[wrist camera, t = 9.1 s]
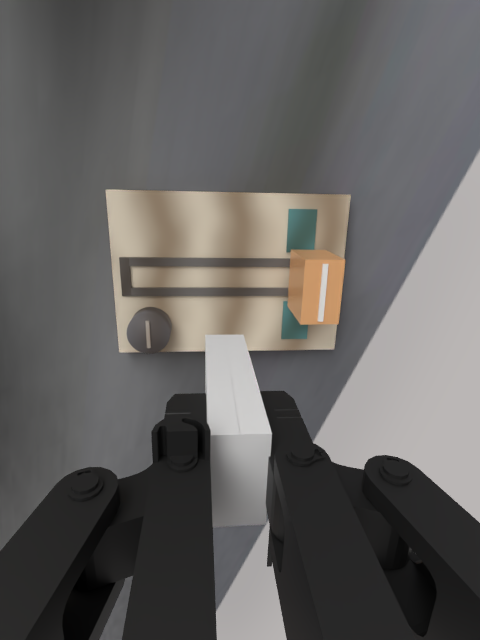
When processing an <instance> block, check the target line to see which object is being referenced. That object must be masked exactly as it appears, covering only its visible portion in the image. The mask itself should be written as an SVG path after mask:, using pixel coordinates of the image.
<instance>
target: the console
mask: <svg viewBox="0 0 480 640" xmlns="http://www.w3.org/2000/svg"><path fill="white" fill-rule="evenodd" d="M350 198H351V195H333V194H288V193H243V192H197V191H152V190H106V201H107V212H108V224H109V236H110V248H111V260H112V272H113V284H114V296H115V308H116V320H117V332H118V343H119V352H142V353H146V354H152V353H156V352H191V351H205V335H244V338H245V341H246V345H247V348H248V351H264V350H334V348H335V339H336V329H337V324H312V325H300V323H299V322H298V320H297V319H296V318H295V316H294V315H293V313H292V312H291V311H290V309H289V308H288V306H287V304H288V288H289V272H290V256H291V250H327V251H329V252H331V253H333V254H335V255H337V256H339V257H341V258H343V259H344V254H345V245H346V235H347V226H348V217H349V207H350Z"/></svg>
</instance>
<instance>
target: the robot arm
mask: <svg viewBox="0 0 480 640" xmlns="http://www.w3.org/2000/svg"><path fill="white" fill-rule="evenodd" d="M152 453H153V464H152V465H151V466H150V467H149V468H147V469H146V470H144V471H142V472H140V473H138V474H135V475H132V476H129V477H125V478H122V479H118V480H117V476H116V475H115V474H114V473H113V472H112V471H111V470H108V469H105V468H102V467H89V468H85V469H81V470H77V471H75V472H73V473H71V474H69V475H67V476H65V477H64V478H63V479H62V480H61V481H59V482H58V483H57V484H56V485H55V486H54V488H53V489H52V490H51V491H50V492H49V494H48V495H47V496H46V497H45V498H44V500H43V501H42V502H41V503H40V504H39V506H38V507H37V508H36V509H35V510H34V512H33V513H32V514H31V515H30V516H29V518H28V519H27V520H26V521H25V522H24V524H23V525H22V526H21V527H20V528H19V530H18V531H17V532H16V533H15V534H14V536H13V537H12V538H11V539H10V540H9V542H8V543H7V544H6V545H5V546H4V548H3V549H2V550H1V551H0V640H99V639H100V636H101V634H102V632H103V630H104V627H105V625H106V623H107V621H108V618H109V616H110V614H111V612H112V609H113V607H114V605H115V603H116V601H117V598H118V596H119V594H120V592H121V589H122V587H123V585H124V581H125V578H127V577H130V576H132V575H133V580H132V585H131V591H130V597H129V602H128V608H127V614H126V620H125V625H124V631H123V637H122V640H217V637H216V608H215V580H214V552H213V527H229V526H249V525H266V515H267V513H268V518H269V523H270V530H269V544H268V558H267V566H272V563H273V568H274V573H275V579H276V584H277V589H278V595H279V599H280V605H281V611H282V616H283V622H284V626H285V632H286V637H287V640H480V523H479V522H478V521H477V520H476V519H475V518H473V517H472V516H471V515H470V514H469V513H468V512H467V511H466V510H465V509H463V508H462V507H461V506H460V505H459V504H458V503H457V502H455V501H454V500H453V499H452V498H451V497H450V496H449V495H448V494H446V493H445V492H444V491H443V490H442V489H441V488H440V487H439V486H437V485H436V484H435V483H434V482H433V481H432V480H431V479H430V478H428V477H427V476H426V475H425V474H424V473H423V472H422V471H421V470H419V469H418V468H417V467H415V466H414V465H412V464H411V463H409V462H408V461H405V460H403V459H400V458H398V457H393V456H387V455H382V456H375V457H373V458H370V459H369V460H368V461H367V462H366V464H365V468H364V470H362V469H357V468H351V467H346V466H342V465H339V464H336V463H333V462H331V460H330V457H329V456H328V454H327V453H326V452H325V450H323V449H322V448H321V447H319V446H318V445H316V444H313V442H312V440H311V437H310V435H309V433H308V431H307V428H306V426H305V424H304V421H303V419H302V418H301V415H300V412H299V410H298V408H297V406H296V403H295V401H294V399H293V398H292V397H291V396H289V395H288V394H287V393H286V392H285V391H260V390H259V387H258V383H257V380H256V376H255V373H254V369H253V366H252V362H251V359H250V355H249V352H248V348H247V345H246V341H245V338H244V335H205V393H203V394H175V395H174V396H173V397H172V398H171V399H170V400H169V401H168V402H167V406H166V412H165V418H164V420H162V421H160V422H159V423H158V424H156V425H155V427H154V428H153V430H152Z"/></svg>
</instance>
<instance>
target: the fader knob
mask: <svg viewBox="0 0 480 640" xmlns="http://www.w3.org/2000/svg"><path fill="white" fill-rule="evenodd" d="M344 269H345V259H343V258H341V257H339V256H337V255H335V254H333V253H331V252H329V251H327V250H291V256H290V272H289V288H288V304H287V306H288V308H289V309H290V311H291V312H292V313H293V315H294V316H295V318H296V319H297V320H298V322H299V323H300V325H312V324H339V315H340V306H341V297H342V287H343V278H344Z"/></svg>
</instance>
